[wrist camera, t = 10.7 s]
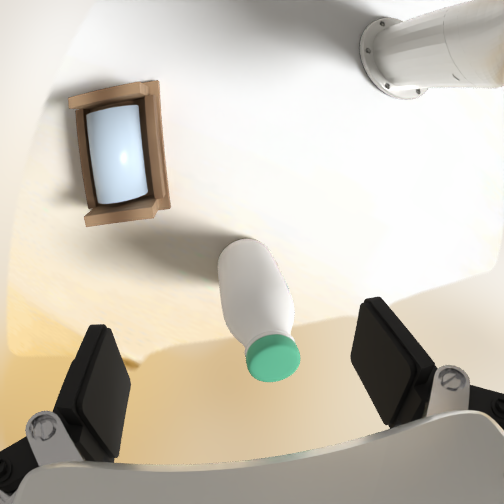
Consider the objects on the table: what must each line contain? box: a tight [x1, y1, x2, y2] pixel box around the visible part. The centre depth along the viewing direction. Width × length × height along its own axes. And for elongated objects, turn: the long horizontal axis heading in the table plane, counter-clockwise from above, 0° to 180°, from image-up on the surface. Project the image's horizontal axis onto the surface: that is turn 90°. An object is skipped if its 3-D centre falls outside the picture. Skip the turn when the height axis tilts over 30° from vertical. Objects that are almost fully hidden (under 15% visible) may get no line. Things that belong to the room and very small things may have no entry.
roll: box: [86, 105, 148, 204], centre depth 31 cm, size 10×6×6 cm, turn 3°
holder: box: [68, 80, 171, 227], centre depth 31 cm, size 10×16×7 cm, turn 3°
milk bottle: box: [218, 239, 300, 382], centre depth 34 cm, size 8×8×20 cm
